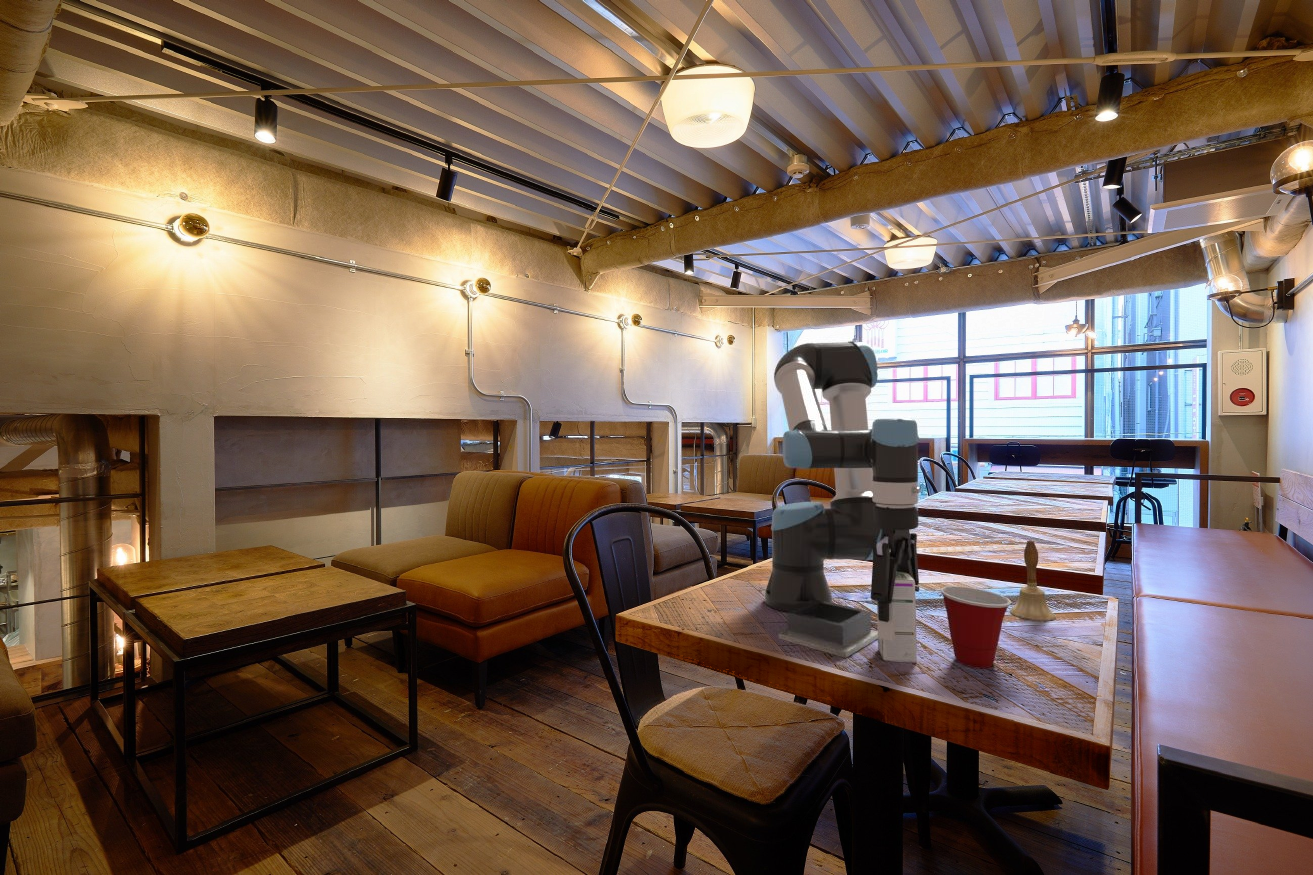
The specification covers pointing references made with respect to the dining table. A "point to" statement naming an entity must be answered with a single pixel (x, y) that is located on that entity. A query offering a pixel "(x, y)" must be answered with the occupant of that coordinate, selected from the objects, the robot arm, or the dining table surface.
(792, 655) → the dining table surface
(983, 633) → the plastic cup
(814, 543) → the robot arm
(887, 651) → the syrup box
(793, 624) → the grey shallow open box
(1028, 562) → the hand bell
